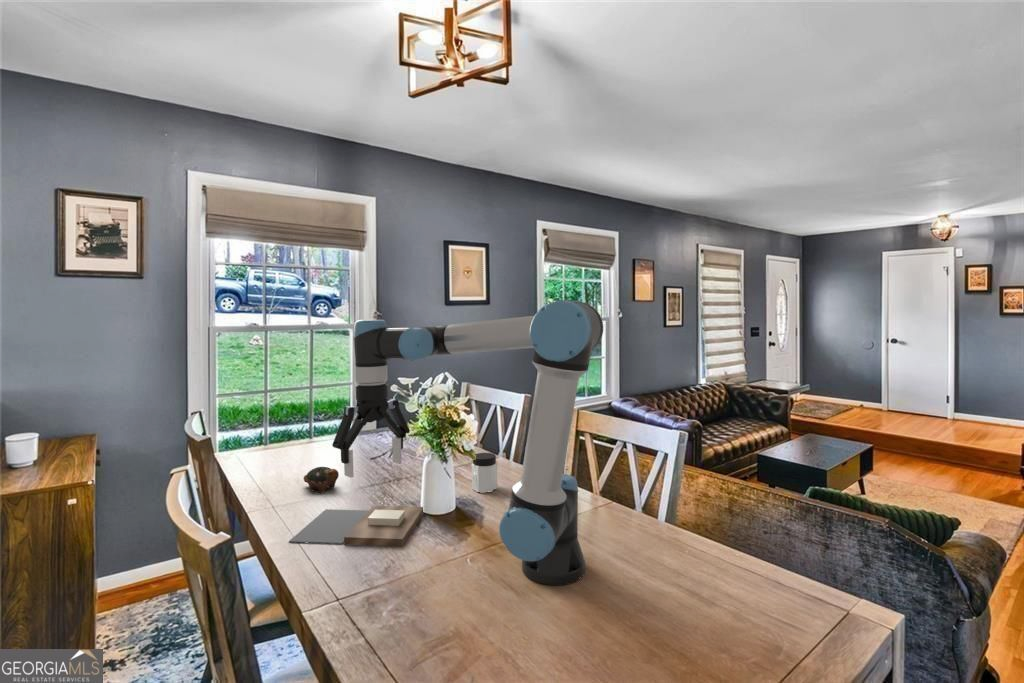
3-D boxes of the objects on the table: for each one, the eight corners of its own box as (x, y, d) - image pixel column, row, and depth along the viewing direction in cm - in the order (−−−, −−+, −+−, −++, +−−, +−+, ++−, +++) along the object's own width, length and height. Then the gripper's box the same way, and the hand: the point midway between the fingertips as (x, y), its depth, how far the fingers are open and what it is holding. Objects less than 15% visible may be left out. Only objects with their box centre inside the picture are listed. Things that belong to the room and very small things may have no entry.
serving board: (423, 513, 154) (423, 506, 154) (402, 546, 132) (402, 538, 132) (373, 511, 155) (373, 505, 155) (344, 544, 133) (343, 537, 133)
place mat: (372, 511, 155) (372, 510, 155) (342, 544, 133) (342, 542, 133) (325, 510, 156) (325, 509, 156) (288, 542, 134) (288, 541, 134)
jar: (468, 488, 176) (467, 454, 175) (487, 483, 180) (487, 451, 180) (481, 495, 168) (481, 460, 168) (501, 490, 173) (501, 456, 172)
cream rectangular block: (405, 517, 146) (404, 510, 146) (398, 525, 140) (398, 518, 140) (375, 516, 147) (375, 509, 147) (367, 524, 141) (367, 517, 141)
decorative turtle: (331, 495, 169) (328, 473, 168) (295, 493, 174) (292, 471, 173) (349, 485, 178) (346, 463, 178) (314, 483, 183) (312, 462, 183)
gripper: (404, 376, 132) (406, 455, 133) (315, 387, 114) (318, 479, 115) (422, 378, 127) (424, 460, 129) (331, 390, 109) (335, 486, 110)
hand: (374, 469), depth 122 cm, fingers open, 13 cm apart
